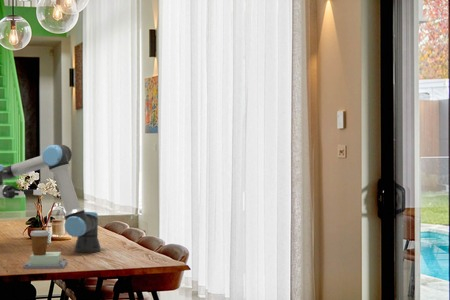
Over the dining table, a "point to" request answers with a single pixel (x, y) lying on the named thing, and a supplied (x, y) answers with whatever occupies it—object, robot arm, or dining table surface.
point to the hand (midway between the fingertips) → (32, 193)
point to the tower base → (61, 265)
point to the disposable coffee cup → (39, 241)
